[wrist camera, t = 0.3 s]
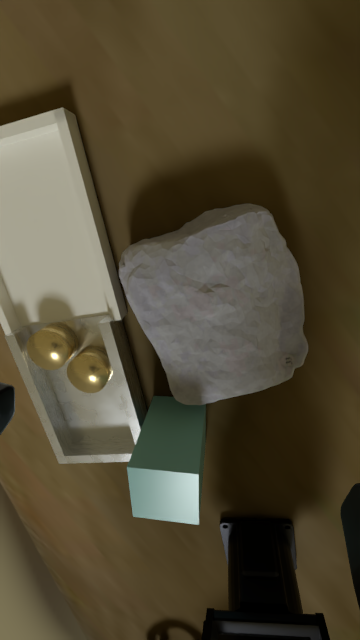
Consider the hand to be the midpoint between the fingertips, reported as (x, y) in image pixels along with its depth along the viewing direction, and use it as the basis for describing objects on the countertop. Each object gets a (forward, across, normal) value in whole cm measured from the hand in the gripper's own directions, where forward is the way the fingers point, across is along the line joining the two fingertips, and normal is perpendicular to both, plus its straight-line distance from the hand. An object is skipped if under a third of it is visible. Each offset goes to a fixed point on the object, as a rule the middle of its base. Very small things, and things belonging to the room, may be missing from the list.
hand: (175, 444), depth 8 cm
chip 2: (+13, +7, +7) cm, 16 cm away
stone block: (+14, -1, 0) cm, 14 cm away
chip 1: (+13, +10, +6) cm, 17 cm away
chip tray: (+13, +12, -2) cm, 18 cm away
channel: (+14, +7, +10) cm, 18 cm away
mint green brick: (+14, 0, +10) cm, 17 cm away
